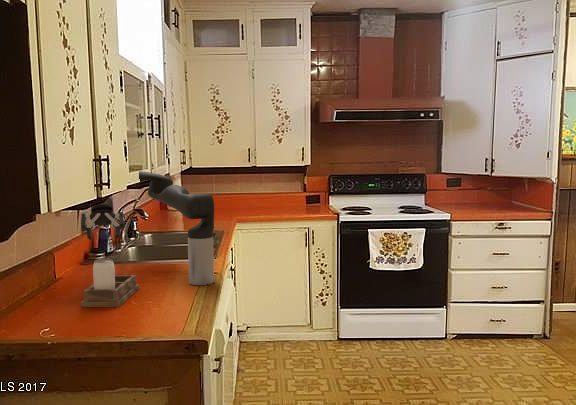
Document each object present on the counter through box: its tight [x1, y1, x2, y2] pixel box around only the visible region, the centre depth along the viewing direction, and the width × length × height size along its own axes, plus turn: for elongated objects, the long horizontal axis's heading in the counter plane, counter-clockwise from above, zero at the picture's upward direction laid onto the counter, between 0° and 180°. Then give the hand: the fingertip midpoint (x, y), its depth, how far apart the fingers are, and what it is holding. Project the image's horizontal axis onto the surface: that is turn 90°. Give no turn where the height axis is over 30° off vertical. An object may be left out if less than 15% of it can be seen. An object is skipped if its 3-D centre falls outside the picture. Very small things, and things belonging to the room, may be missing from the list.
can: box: [92, 258, 116, 290], centre depth 156 cm, size 6×6×12 cm
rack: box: [80, 274, 140, 308], centre depth 162 cm, size 21×12×5 cm, turn 1°
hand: (103, 238), depth 166 cm, fingers open, 8 cm apart
